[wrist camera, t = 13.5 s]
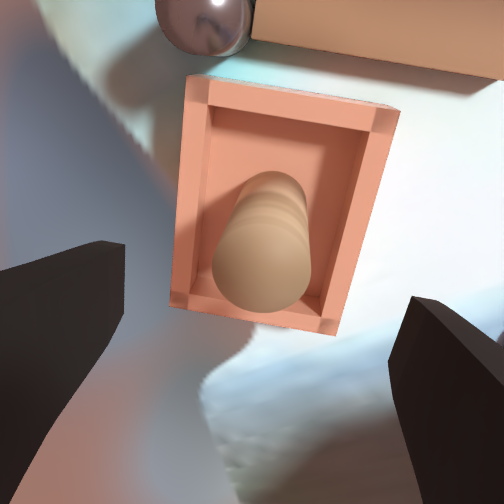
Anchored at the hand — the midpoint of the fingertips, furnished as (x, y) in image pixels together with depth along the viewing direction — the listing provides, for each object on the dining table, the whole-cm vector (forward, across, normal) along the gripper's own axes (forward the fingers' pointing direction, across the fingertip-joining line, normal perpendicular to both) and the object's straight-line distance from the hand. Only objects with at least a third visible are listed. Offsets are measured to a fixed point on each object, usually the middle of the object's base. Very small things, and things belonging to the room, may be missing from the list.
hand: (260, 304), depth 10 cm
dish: (+8, 0, 0) cm, 8 cm away
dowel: (+7, 0, 0) cm, 7 cm away
